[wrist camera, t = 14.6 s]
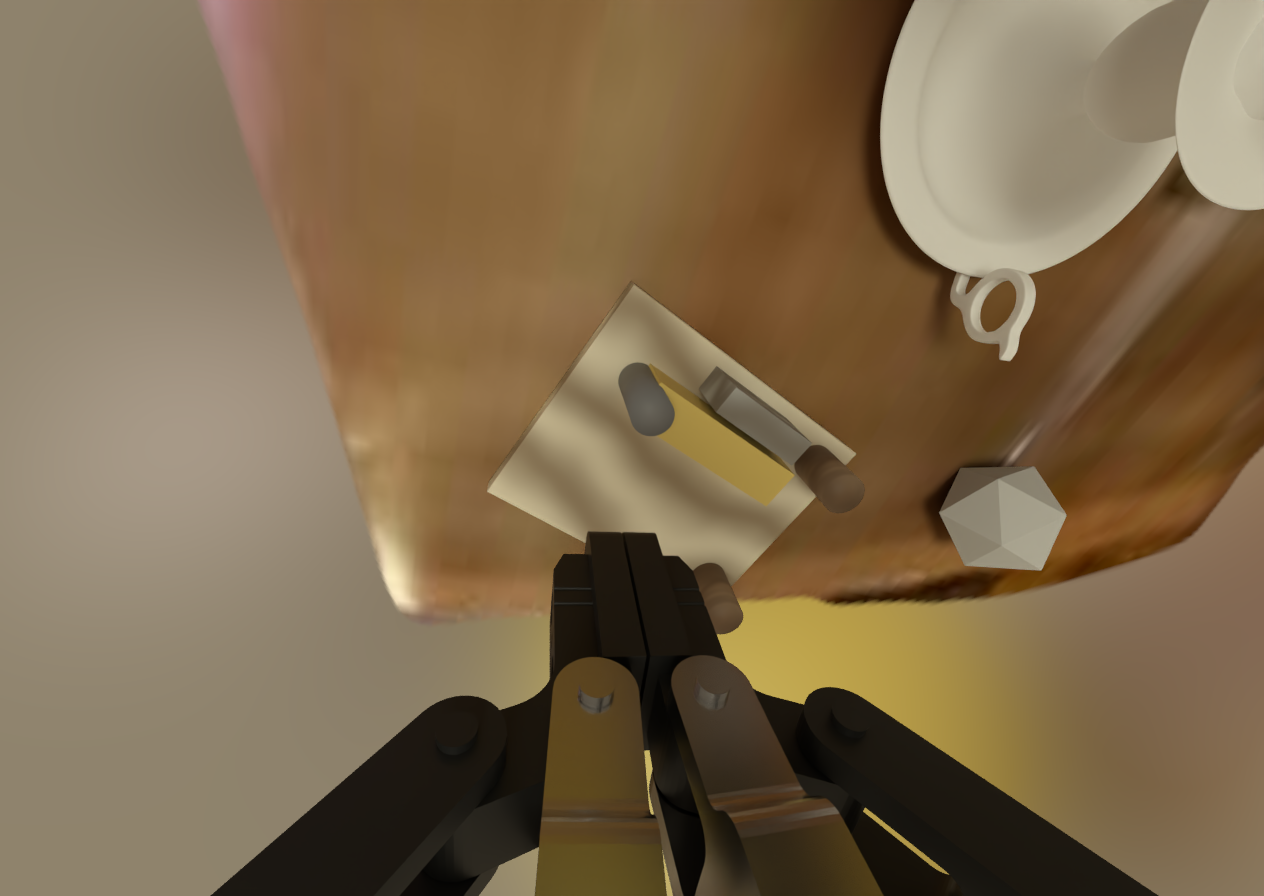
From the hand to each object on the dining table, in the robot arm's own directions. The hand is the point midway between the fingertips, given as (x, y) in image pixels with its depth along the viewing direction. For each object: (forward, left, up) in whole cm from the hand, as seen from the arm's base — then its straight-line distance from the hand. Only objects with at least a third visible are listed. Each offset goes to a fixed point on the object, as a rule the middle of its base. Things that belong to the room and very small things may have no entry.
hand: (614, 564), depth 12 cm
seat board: (+5, +13, -27) cm, 30 cm away
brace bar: (+1, +11, -25) cm, 28 cm away
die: (-7, +37, -27) cm, 46 cm away
